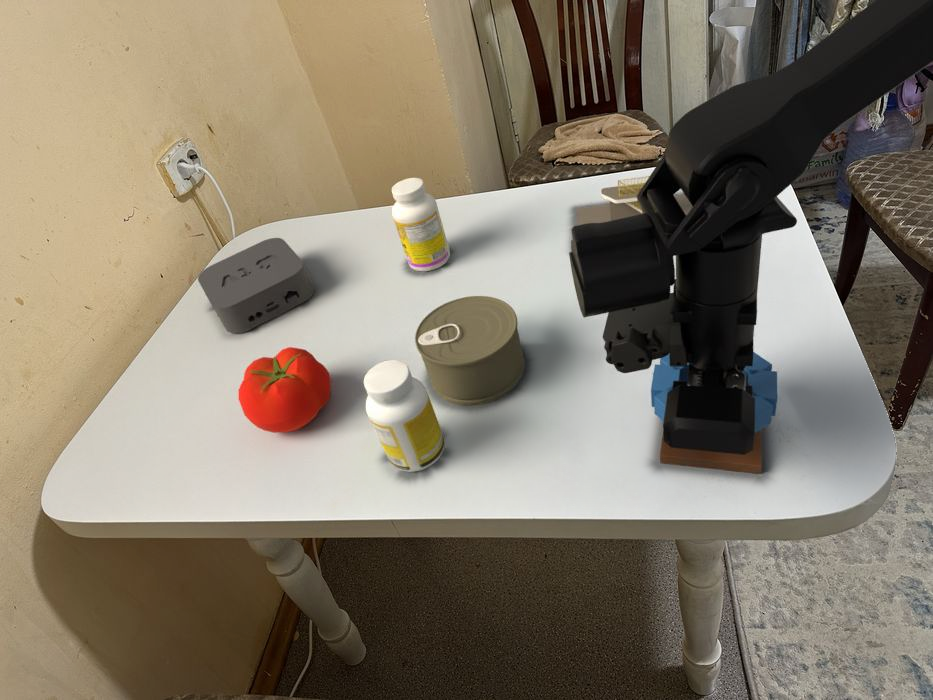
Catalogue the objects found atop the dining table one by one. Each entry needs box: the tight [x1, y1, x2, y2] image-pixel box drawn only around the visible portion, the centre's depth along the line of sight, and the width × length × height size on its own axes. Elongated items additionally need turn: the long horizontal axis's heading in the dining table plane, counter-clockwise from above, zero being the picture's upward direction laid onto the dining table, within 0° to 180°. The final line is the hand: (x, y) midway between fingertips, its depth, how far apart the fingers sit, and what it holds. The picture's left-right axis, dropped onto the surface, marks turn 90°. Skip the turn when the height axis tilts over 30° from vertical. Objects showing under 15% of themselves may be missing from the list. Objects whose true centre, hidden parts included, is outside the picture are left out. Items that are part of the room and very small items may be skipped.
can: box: [414, 295, 526, 406], centre depth 78 cm, size 12×12×7 cm
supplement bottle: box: [391, 177, 451, 272], centre depth 97 cm, size 7×7×13 cm
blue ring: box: [650, 351, 779, 433], centre depth 62 cm, size 11×11×2 cm
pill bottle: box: [363, 359, 446, 473], centre depth 69 cm, size 6×6×12 cm
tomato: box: [238, 346, 332, 433], centre depth 79 cm, size 11×11×8 cm
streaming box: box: [197, 237, 315, 334], centre depth 102 cm, size 14×14×5 cm
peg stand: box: [659, 428, 763, 475], centre depth 63 cm, size 9×9×8 cm
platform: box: [576, 175, 693, 226], centre depth 95 cm, size 12×18×7 cm, turn 83°
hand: (711, 422), depth 59 cm, fingers closed on blue ring, 2 cm apart
